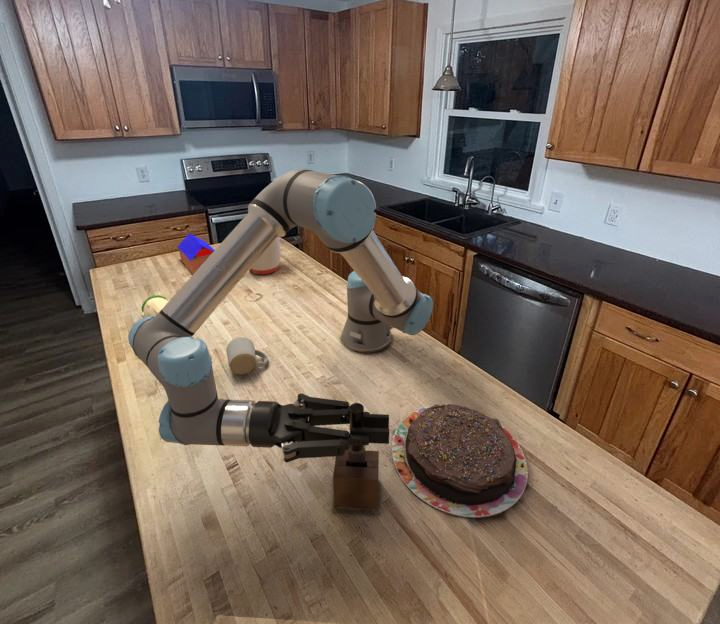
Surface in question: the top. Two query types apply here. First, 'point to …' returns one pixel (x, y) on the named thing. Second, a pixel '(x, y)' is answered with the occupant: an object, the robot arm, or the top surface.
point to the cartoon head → (153, 305)
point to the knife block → (356, 482)
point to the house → (194, 252)
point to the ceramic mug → (243, 356)
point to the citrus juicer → (268, 259)
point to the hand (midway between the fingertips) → (388, 428)
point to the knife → (356, 451)
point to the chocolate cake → (460, 461)
